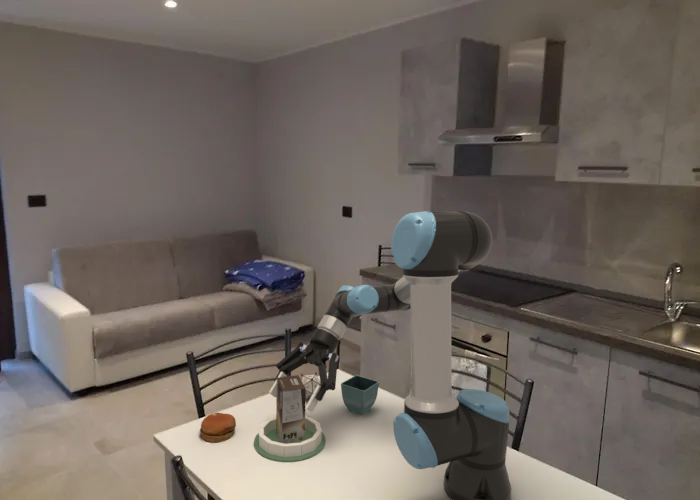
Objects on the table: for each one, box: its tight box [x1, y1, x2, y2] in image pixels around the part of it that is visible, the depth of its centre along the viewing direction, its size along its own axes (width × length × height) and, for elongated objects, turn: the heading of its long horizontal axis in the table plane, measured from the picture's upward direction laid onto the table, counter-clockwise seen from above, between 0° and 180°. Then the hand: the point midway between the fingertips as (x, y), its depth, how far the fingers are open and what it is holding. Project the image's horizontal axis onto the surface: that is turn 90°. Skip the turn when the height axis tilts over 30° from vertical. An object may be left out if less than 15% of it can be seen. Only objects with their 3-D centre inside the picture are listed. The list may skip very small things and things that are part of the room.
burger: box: [199, 412, 237, 443], centre depth 137 cm, size 10×9×5 cm
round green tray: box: [253, 415, 326, 463], centre depth 134 cm, size 19×19×4 cm
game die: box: [300, 371, 321, 399], centre depth 160 cm, size 9×8×10 cm
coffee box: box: [275, 374, 307, 444], centre depth 133 cm, size 9×6×16 cm
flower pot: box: [340, 374, 380, 416], centre depth 153 cm, size 9×9×9 cm
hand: (289, 402), depth 133 cm, fingers open, 13 cm apart
